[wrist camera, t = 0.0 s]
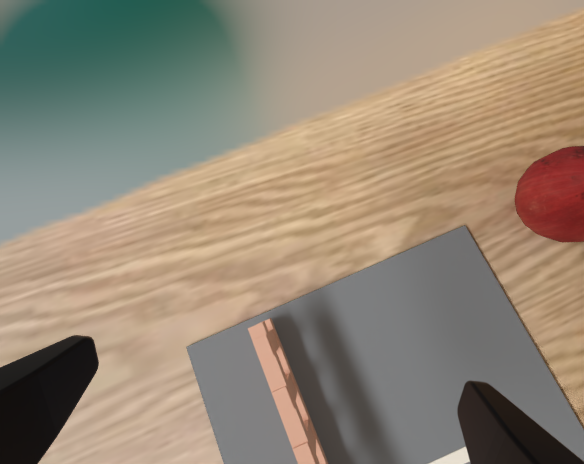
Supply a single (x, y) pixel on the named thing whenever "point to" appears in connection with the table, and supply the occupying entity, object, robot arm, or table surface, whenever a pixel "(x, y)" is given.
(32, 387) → the robot arm
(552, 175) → the onion
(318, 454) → the fence gate
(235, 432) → the mat
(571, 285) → the table surface
